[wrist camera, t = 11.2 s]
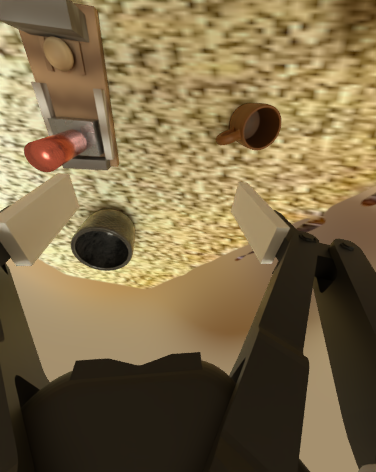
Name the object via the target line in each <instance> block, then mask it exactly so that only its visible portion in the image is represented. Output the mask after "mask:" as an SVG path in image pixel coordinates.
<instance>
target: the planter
mask: <svg viewBox="0 0 376 472" xmlns="http://www.w3.org/2000/svg"><path fill="white" fill-rule="evenodd" d="M134 243H135V228H134V225H133V223H132V221H131V219H130V218H129V217H128V216H127V215H125V214H124V213H122V212H120V211H118V210H114V209H103V210H99V211H97V212H95V213H93V214H92V215H91V216H90V217H88V218H87V219H86V221H85V222H84V223H83V224H82V225H81V226H80V228H79V229H78V230H77V232H76V233H75V234H74V236H73V238H72V241H71V250H72V252H73V254H74V256H75V257H76V258H77V259H78V260H79V261H80V262H82V263H83V264H85V265H87V266H89V267H91V268H94V269H98V270H105V271H110V270H116V269H119V268H122V267H124V266H125V265H127V264H128V263H129V261H130V260H131V258H132V255H133V250H134Z"/></svg>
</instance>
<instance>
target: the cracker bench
mask: <svg viewBox="0 0 376 472" xmlns="http://www.w3.org/2000/svg"><path fill="white" fill-rule="evenodd" d="M0 21H2V22H4V23H6V24H9V25H11V26H13V27H15V28H17V29H19V32H20V35H21V38H22V42H23V45H24V48H25V51H26V54H27V57H28V60H29V63H30V66H31V69H32V72H33V75H34V78H35V81H36V82H31V83H32V86H33V89H34V92H35V95H36V98H37V101H38V104H39V107H40V110H41V113H42V116H43V119H44V122H45V125H46V128H47V131H48V134H49V136H52V135H53V134H52V131H51V128H50V125H49V121H48V118H51V117H57V116H61V117H72V118H84V119H96V120H99V124H100V130H101V135H102V141H103V146H104V153H103V154H102V155H100V156H84V155H77V156H76V157H74V158H73V159H71V160H69V161H68V162H66V163H65V164H63V168H73V169H92V170H108V169H109V168H110V167H111V166H116V167H118V165H119V159H118V152H117V145H116V138H115V131H114V124H113V117H112V109H111V102H110V95H109V88H108V81H107V74H106V67H105V60H104V53H103V46H102V39H101V32H100V25H99V18H98V11H97V10H96V9H95V8H94V6H88V5H81V4H75V3H73V2H72V1H71V0H0ZM50 36H54V37H58V38H60V39H61V40H63V41H64V42H65V43H66V44H67V45H68V47H69V48H70V50H71V52H72V54H73V58H74V64H73V67H72V69H71V70H69V71H66V72H64V71H60V70H58V69H56V68H55V67H53V66H52V65H51V64H50V62H49V61H48V60H47V58H46V56H45V53H44V49H43V44H44V41H45V39H46V38H48V37H50Z"/></svg>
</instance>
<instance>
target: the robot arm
mask: <svg viewBox="0 0 376 472" xmlns="http://www.w3.org/2000/svg"><path fill="white" fill-rule="evenodd" d="M78 208H79V204H78V201H77V198H76V194H75V191H74V188H73V185H72V182H71V179H70V175H69V174H61V173H58V174H56V175H55V176H53V177H52V178H50V179H49V180H47V181H46V182H44V183H43V184H42V185H40V186H39V187H37V188H36V189H34V190H33V191H31V192H30V193H28V194H27V195H25V196H24V197H23V198H21V199H20V200H18V201H17V202H15V203H14V204H12V205H10V206H8V207H6V208H4V209H3V210H1V211H0V472H310V471H309V470H308V469H307V467H306V466H305V465H304V464H303V463H302V461H301V460H300V459H299V452H300V443H301V434H302V426H303V418H304V410H305V401H306V392H307V384H308V375H309V360H308V358H307V357H305V356H304V355H303V347H304V341H305V334H306V328H307V321H308V315H309V308H310V301H311V294H312V288H313V289H314V293H315V298H316V302H317V307H318V311H319V316H320V320H321V325H322V329H323V333H324V337H325V342H326V347H327V351H328V355H329V360H330V365H331V369H332V374H333V378H334V383H335V387H336V392H337V396H338V401H339V405H340V409H341V414H342V418H343V422H344V425H345V429H346V433H347V437H348V440H349V443H350V445H351V449H352V451H353V454H354V457H355V460H356V463H357V465H358V468H359V472H376V272H375V271H374V269H373V267H372V266H371V264H370V263H369V261H368V259H367V258H366V256H365V255H364V253H363V251H362V250H361V249H360V248H359V247H358V246H357V245H355V244H354V243H353V242H351V241H348V240H344V239H335V240H334V241H333V242H332V243H331V245H327V244H322V243H319V240H318V239H317V238H316V237H314V236H313V235H311V234H309V233H306V232H303V231H298V230H297V229H296V228H294V226H293V225H292V224H291V223H290V222H288V220H287V219H285V217H284V216H283V215H282V214H281V213H279V212H277V211H276V210H273V209H272V208H271V207H270V206H269V205H268V204H267V203H266V202H265V201H264V200H263V199H262V198H261V197H260V196H259V195H258V193H257V192H256V191H255V190H254V189H253V188H252V187H251V186H250V185H249V184H248V183H243V182H238V186H237V190H236V194H235V198H234V202H233V206H232V210H231V212H232V214H233V216H234V218H235V219H236V221H237V223H238V225H239V226H240V228H241V230H242V232H243V234H244V235H245V237H246V239H247V241H248V242H249V244H250V246H251V248H252V250H253V251H254V253H255V255H256V257H257V258H258V260H259V262H260V263H261V264H272V262H273V260H274V258H275V257H276V258H277V259H278V261H279V262H278V263H277V265H276V267H275V269H274V271H273V273H272V274H273V275H272V277H271V280H270V282H269V284H268V287H267V290H266V292H265V294H264V297H263V299H262V301H261V304H260V306H259V308H258V311H257V313H256V316H255V318H254V320H253V323H252V325H251V328H250V330H249V333H248V335H247V337H246V340H245V342H244V344H243V347H242V349H241V352H240V354H239V356H238V359H237V361H236V363H235V365H234V367H233V369H232V371H231V373H230V375H229V376H228V375H227V374H226V373H225V372H224V371H222V370H221V369H220V368H218V367H216V366H215V365H213V364H210V363H208V362H205V361H202V360H201V355H200V352H197V353H196V352H195V353H181V354H171V355H168V356H165V357H163V358H160V359H158V360H154V361H152V362H149V363H146V364H144V365H133V364H129V363H125V362H121V361H117V360H112V359H94V360H81V361H76V362H75V365H74V368H73V371H71V372H68V373H66V374H64V375H62V376H60V377H58V378H57V379H55V380H54V381H52V382H49V380H48V379H47V377H46V375H45V374H44V371H43V369H42V366H41V363H40V360H39V357H38V354H37V351H36V348H35V345H34V342H33V339H32V336H31V333H30V330H29V327H28V324H27V321H26V318H25V315H24V312H23V309H22V306H21V303H20V300H19V297H18V294H17V291H16V288H15V285H14V282H13V279H12V276H11V273H10V270H9V267H8V266H7V265H6V262H7V261H8V260H9V259H10V258H11V259H12V260H13V262H14V263H15V264H16V266H32V265H33V264H34V263H35V261H36V260H37V259H38V258H39V256H40V255H41V254H42V253H43V251H44V250H45V249H46V248H47V247H48V245H49V244H50V243H51V242H52V240H53V239H54V238H55V237H56V235H57V234H58V233H59V232H60V230H61V229H62V228H63V227H64V226H65V224H66V223H67V222H68V221H69V219H70V218H71V217H72V216H73V214H74V213H75V212H76V211H77V209H78Z"/></svg>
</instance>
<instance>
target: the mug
mask: <svg viewBox="0 0 376 472" xmlns="http://www.w3.org/2000/svg"><path fill="white" fill-rule="evenodd" d="M229 128H230V129H229V130H227V131H224V132H222V133H220V134H219V135H218V136H217V138H216V142H217V143H218V144H219V145H226V144H230V143H233V142H235V141H237V142H239V143H240V144H242V145H243V146H245V147H247V148H249V149H252V150H261V149H264V148H266V147H268V146H269V145H270V144H272V143H273V142H274V140H275V139H276V137H277V136H278V134H279V131H280V128H281V116H280V113H279V111H278V110H277V109H276V108H275V107H274V106H271V105H268V104H262V103H247V104H244V105H242V106H240V107H239V108H237V109H236V111H235V112H234V113H233V115H232V117H231V120H230V125H229Z"/></svg>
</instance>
